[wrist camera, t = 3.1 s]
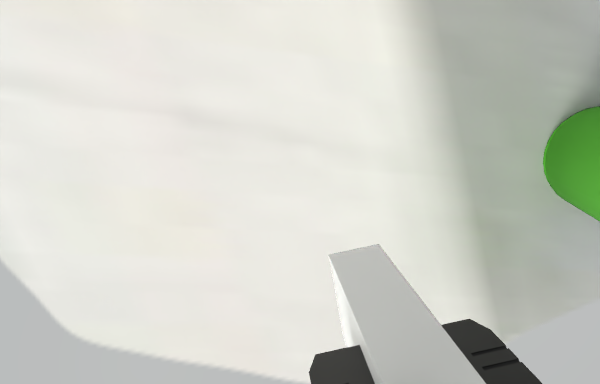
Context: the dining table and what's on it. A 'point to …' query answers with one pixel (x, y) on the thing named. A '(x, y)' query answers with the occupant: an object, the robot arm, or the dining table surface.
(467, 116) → the dining table surface
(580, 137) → the cup
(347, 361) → the robot arm
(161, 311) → the dining table surface
